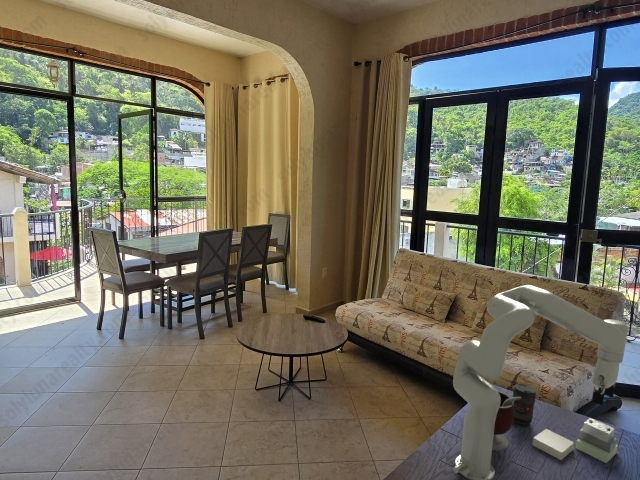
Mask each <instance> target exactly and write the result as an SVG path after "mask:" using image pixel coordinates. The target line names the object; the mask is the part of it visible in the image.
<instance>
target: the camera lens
mask: <svg viewBox="0 0 640 480" xmlns="http://www.w3.org/2000/svg"><path fill="white" fill-rule="evenodd" d="M536 391H537V390H536V389H535V388H534V387H532V386H530V385H528V384H524V383H517V384H516V383H515V385H514V387H513V390H512V397H521V399H518V400H515V401H514V412H515V413H514V420H513V423H512V424H515V425H516V426H518V427H523V428H527V427H530V426H531V423H532V421H533V418H534V417H533V416H534V407H535V403H536V399H537V392H536Z"/></svg>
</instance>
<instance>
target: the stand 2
mask: <svg viewBox="0 0 640 480" xmlns="http://www.w3.org/2000/svg"><path fill="white" fill-rule="evenodd" d="M618 447H619V446H618V444H616V447H615V449H614V450H613V451H612V452H611V453H608V452H606V451H604V450H602V449H600V448H597V447H595V446H593V445H591V444H589V443H587V442H585V441H583V440H581V439H579V438H577V440H576V441H575V449H577V450H579V451H581V452H583V453H585V454H587V455H589V456H590V457H593V458H595V459H596V460H599V461H601V462H603V463H604V464H607V463H608V462H609V461H610V460H611V459H613V457H614V456H615V455H616V454H617V453H618Z"/></svg>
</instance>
